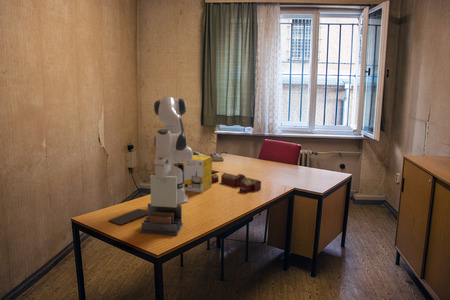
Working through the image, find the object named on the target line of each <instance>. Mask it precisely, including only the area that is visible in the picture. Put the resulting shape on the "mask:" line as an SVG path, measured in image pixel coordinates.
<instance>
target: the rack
mask: <svg viewBox="0 0 450 300" xmlns="http://www.w3.org/2000/svg"><path fill="white" fill-rule="evenodd" d="M182 208H183V206H182V205H180V204H177V207H160V206H151V202H150V203H147V211H148V216H145V219H144V220H143V221H142V222H141V229H140V230H139V233H140V234H146V235H147V234H148V235H163V236H174V237H175V236H178V235H179V233H180V231H181V229H182V228H183V226H184V225H183V221H182V217H183V215H182V213H183V212H182V211H183V209H182ZM151 212H162V213H174V222H173V221H171V224H160V223H149V217H150V213H151Z"/></svg>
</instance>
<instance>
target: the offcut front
mask: <svg viewBox="0 0 450 300" xmlns="http://www.w3.org/2000/svg"><path fill="white" fill-rule="evenodd" d="M149 223H160V224H171V217H157V216H150V217H149Z"/></svg>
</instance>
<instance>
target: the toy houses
mask: <svg viewBox="0 0 450 300" xmlns="http://www.w3.org/2000/svg"><path fill="white" fill-rule="evenodd" d="M220 180H221V182H220V184H223V185H228V186H231V187H236V188H239V192H241V193H245V194H247V193H249V192H257V191H260V190H261V189H262V188H261V187H262V181H261V180H259V179H255V178H250V177H247V176H246V175H245V174H243V173H238V174H237V175H236V174H231V173H226V172H223V174H221V176H220ZM217 183H219V175H218V174H216V173H213V174H212V184H213V185H214V184H217Z"/></svg>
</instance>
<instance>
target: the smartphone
mask: <svg viewBox="0 0 450 300" xmlns="http://www.w3.org/2000/svg"><path fill="white" fill-rule="evenodd" d="M146 217H148V210H144V209H141V208H138V209H137V208H136V209H134V210H132V211H129V212H127V213H123V214H120V215H118V216H116V217H113V218H111V219H108V222H109V223H112V224H114V225H117V226H119V227H121V226H125V225H127V224H130V223H132V222H135V221H137V220H140V219H143V218H146Z"/></svg>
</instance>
